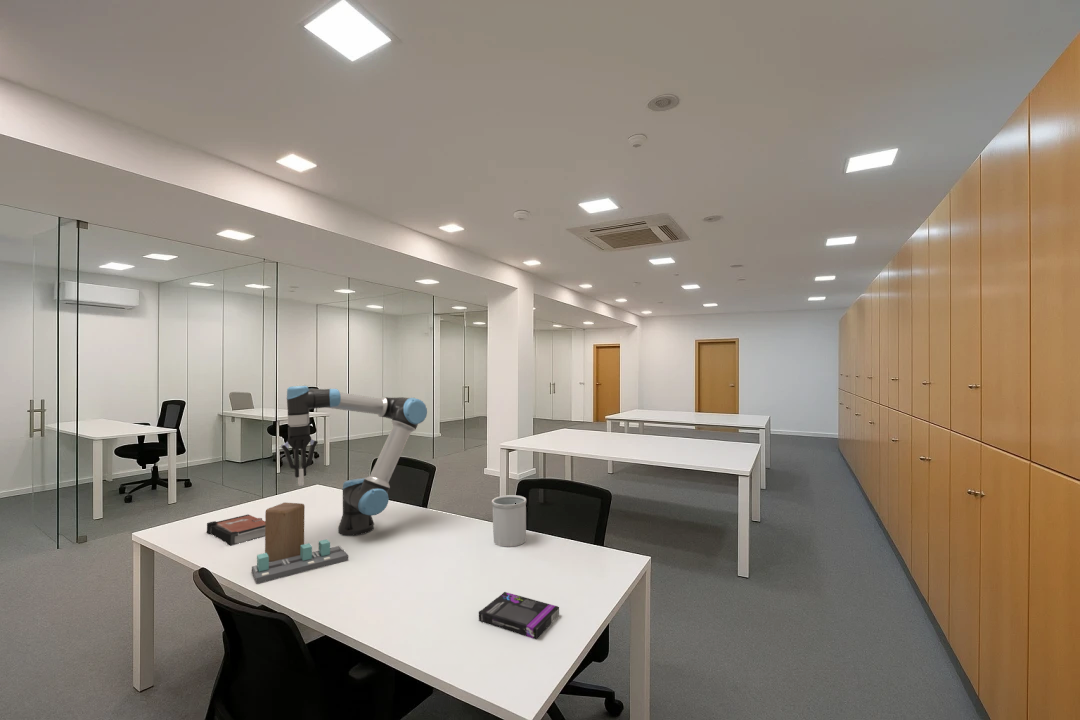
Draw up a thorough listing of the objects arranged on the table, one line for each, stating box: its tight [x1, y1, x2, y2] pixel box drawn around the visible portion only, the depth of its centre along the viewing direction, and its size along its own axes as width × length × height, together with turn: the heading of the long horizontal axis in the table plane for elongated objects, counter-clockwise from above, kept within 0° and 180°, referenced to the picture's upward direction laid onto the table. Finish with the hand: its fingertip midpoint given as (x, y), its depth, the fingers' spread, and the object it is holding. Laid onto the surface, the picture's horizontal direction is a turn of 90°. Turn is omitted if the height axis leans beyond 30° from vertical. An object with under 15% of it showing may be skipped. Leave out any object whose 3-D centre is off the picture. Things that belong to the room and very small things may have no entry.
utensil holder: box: [491, 494, 527, 548], centre depth 191 cm, size 15×15×18 cm
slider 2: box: [300, 542, 313, 561], centre depth 169 cm, size 3×4×4 cm, turn 39°
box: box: [478, 591, 560, 640], centre depth 131 cm, size 14×4×20 cm
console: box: [251, 545, 349, 585], centre depth 167 cm, size 30×12×3 cm, turn 130°
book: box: [206, 513, 265, 547], centre depth 202 cm, size 26×18×5 cm
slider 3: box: [318, 538, 331, 556], centre depth 173 cm, size 3×4×4 cm, turn 40°
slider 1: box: [256, 552, 270, 572], centre depth 160 cm, size 3×4×4 cm, turn 40°
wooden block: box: [264, 502, 305, 562], centre depth 175 cm, size 10×10×20 cm
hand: (300, 484), depth 177 cm, fingers closed
